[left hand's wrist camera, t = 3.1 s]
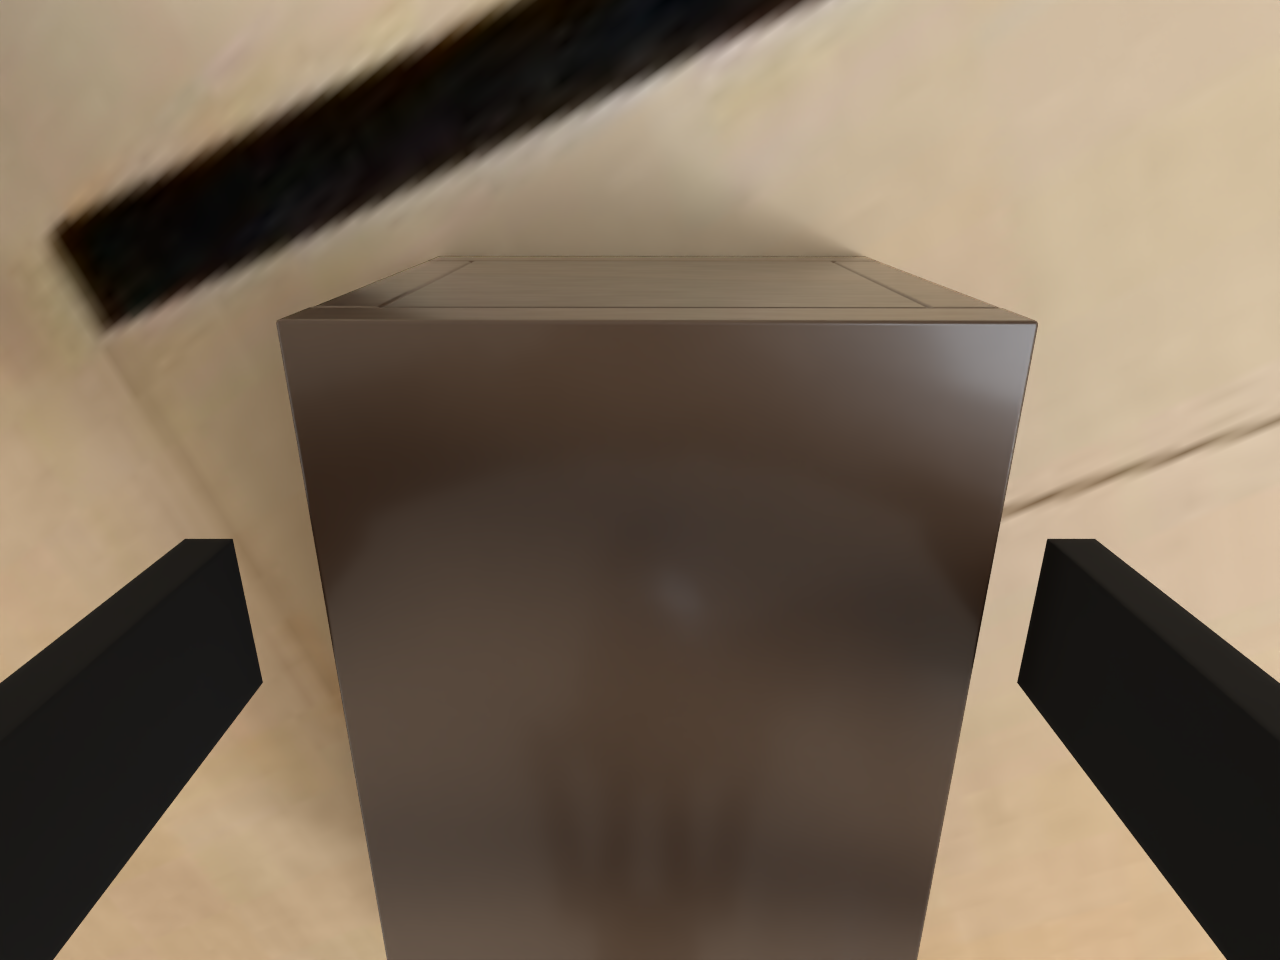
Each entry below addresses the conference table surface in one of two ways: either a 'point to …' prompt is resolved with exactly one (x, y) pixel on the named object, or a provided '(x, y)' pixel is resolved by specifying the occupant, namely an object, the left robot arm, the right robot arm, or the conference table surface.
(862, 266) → the cabinet
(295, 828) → the conference table surface
